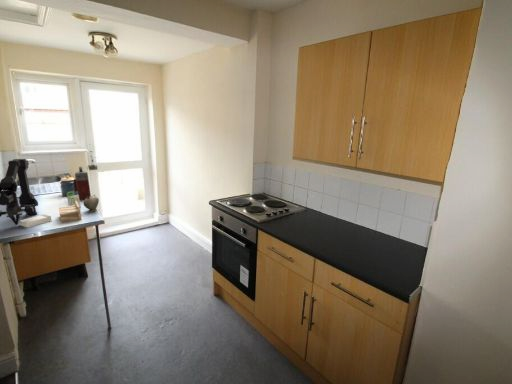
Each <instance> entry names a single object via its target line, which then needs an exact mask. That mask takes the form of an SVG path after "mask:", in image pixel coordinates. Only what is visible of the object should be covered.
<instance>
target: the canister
mask: <svg viewBox="0 0 512 384" xmlns="http://www.w3.org/2000/svg"><path fill="white" fill-rule="evenodd" d="M74 179H76V178H75V177H74V176H73V177H72V176H71V177H70V176H69V175H65V177H63V178H61V179H60V182H59V184H60V191H61V195H62V197H67V192H71V191H74V195H78V191H75V190H74V184H73V182H74ZM70 194H73V193H69V195H70Z"/></svg>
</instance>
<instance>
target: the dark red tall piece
mask: <svg viewBox="0 0 512 384" xmlns="http://www.w3.org/2000/svg"><path fill="white" fill-rule="evenodd" d="M74 178H75V179H74V182H73V184H74V190H75V191H78V194H77V195H79V200H80V201H84V200H85V199H86V198H87V197H89V196H92V195H91V189H90V188H91V187H90V181H89V173H88V171H87V170H84V171H83V166H78V171H75V172H74Z"/></svg>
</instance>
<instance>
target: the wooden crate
mask: <svg viewBox="0 0 512 384" xmlns="http://www.w3.org/2000/svg"><path fill="white" fill-rule="evenodd" d="M80 206H81V205H80ZM80 206H79V204H78V202H77V201H75V205H73V206H68V205H67V206H59V207H58V211H59V216H60V222H61V223H62V222H64V223H65V222H68V221H75V220H82V214H81V208H80Z"/></svg>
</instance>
